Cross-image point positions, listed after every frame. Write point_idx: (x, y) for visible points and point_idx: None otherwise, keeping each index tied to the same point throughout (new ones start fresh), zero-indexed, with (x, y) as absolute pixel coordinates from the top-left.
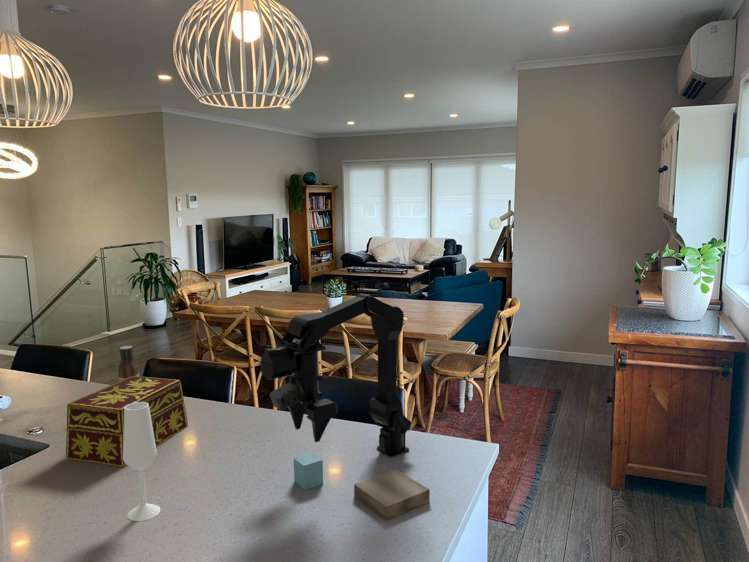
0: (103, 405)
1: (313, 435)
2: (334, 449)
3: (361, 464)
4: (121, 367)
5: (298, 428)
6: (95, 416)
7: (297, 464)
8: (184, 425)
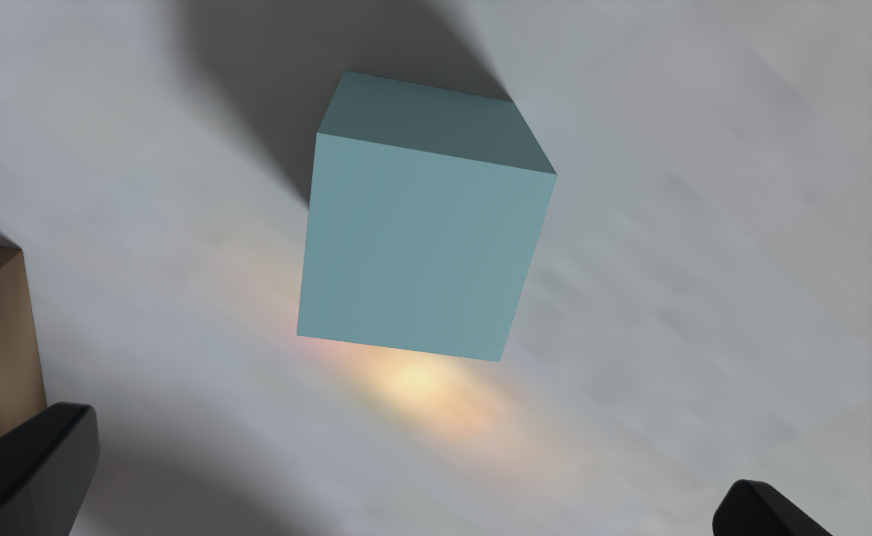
0: None
1: (10, 491)
2: (616, 516)
3: (356, 502)
4: None
5: (726, 511)
6: None
7: (468, 146)
8: None
